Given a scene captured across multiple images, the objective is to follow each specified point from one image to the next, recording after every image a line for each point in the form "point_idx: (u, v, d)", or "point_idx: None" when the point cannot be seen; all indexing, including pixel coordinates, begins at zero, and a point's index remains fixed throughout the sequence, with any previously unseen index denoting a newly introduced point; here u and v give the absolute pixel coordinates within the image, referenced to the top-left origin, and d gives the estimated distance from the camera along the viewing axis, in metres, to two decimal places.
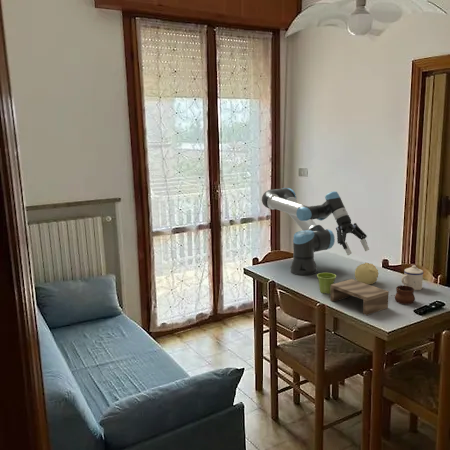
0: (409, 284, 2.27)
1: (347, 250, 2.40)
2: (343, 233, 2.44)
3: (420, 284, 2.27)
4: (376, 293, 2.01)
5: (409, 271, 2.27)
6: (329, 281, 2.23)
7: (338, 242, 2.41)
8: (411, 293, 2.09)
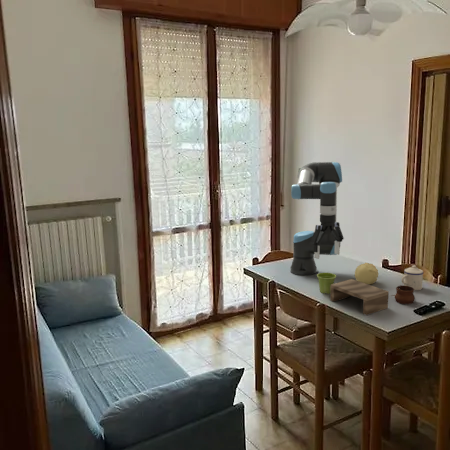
0: (409, 284, 2.27)
1: (316, 254, 2.20)
2: (320, 233, 2.20)
3: (420, 284, 2.27)
4: (376, 293, 2.01)
5: (409, 271, 2.27)
6: (329, 281, 2.23)
7: (311, 243, 2.18)
8: (411, 293, 2.09)
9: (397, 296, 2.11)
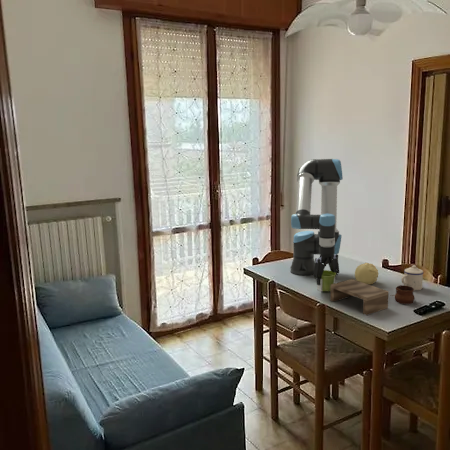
0: (409, 284, 2.27)
1: (319, 286, 2.25)
2: (321, 266, 2.24)
3: (420, 284, 2.27)
4: (376, 293, 2.01)
5: (409, 271, 2.27)
6: (329, 279, 2.24)
7: (314, 277, 2.23)
8: (411, 293, 2.09)
9: (397, 296, 2.11)
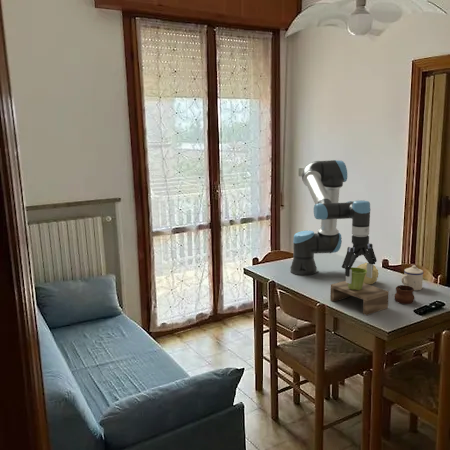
0: (409, 284, 2.27)
1: (348, 278, 2.04)
2: (353, 256, 2.04)
3: (420, 284, 2.27)
4: (376, 293, 2.01)
5: (409, 271, 2.27)
6: (360, 276, 2.03)
7: (342, 267, 2.02)
8: (410, 293, 2.09)
9: (396, 296, 2.12)
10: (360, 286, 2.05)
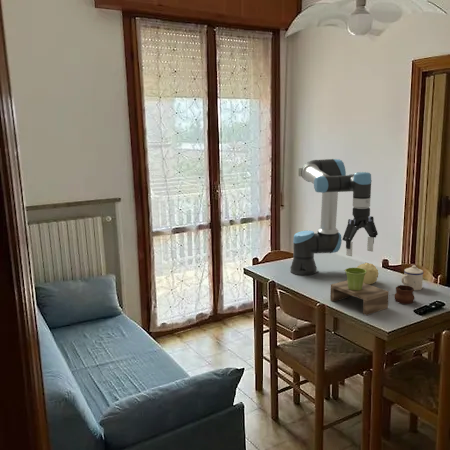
0: (409, 284, 2.27)
1: (348, 250, 2.02)
2: (353, 228, 2.01)
3: (420, 284, 2.27)
4: (376, 293, 2.01)
5: (409, 271, 2.27)
6: (359, 277, 2.03)
7: (343, 239, 2.00)
8: (410, 293, 2.09)
9: (396, 295, 2.12)
10: (360, 286, 2.05)
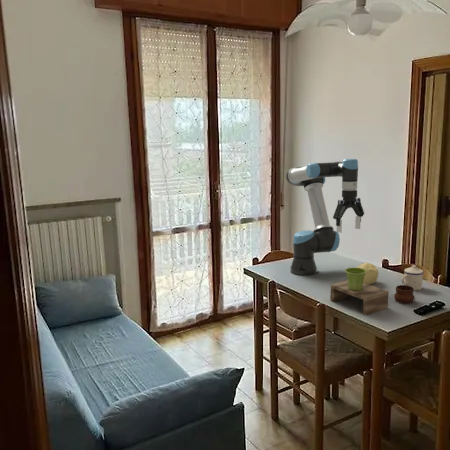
0: (409, 284, 2.27)
1: (338, 227, 2.30)
2: (343, 208, 2.30)
3: (420, 284, 2.27)
4: (376, 293, 2.01)
5: (409, 271, 2.27)
6: (359, 277, 2.03)
7: (333, 217, 2.28)
8: (410, 293, 2.09)
9: (396, 295, 2.12)
10: (360, 286, 2.05)
